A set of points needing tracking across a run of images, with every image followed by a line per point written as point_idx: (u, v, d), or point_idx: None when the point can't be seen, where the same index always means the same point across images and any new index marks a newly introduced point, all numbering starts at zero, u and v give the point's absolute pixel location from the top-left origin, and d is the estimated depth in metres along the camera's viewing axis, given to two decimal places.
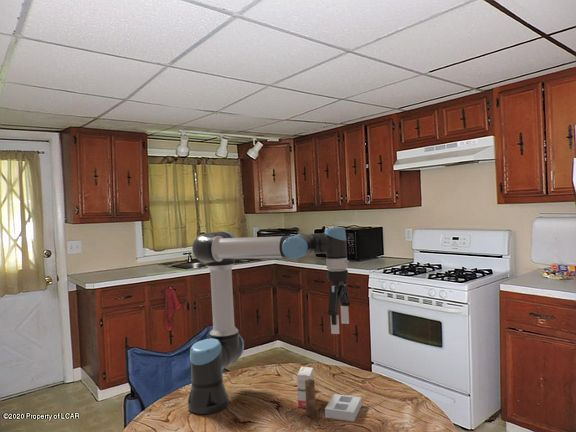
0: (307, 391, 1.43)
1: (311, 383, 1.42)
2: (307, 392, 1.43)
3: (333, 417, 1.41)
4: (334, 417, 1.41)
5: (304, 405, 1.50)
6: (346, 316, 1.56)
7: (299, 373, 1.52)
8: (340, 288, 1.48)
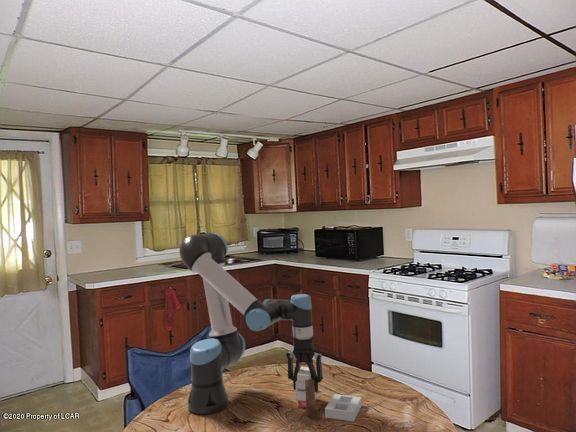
0: (307, 391, 1.43)
1: (311, 383, 1.42)
2: (307, 392, 1.43)
3: (333, 417, 1.41)
4: (334, 417, 1.41)
5: (304, 405, 1.50)
6: None
7: (299, 373, 1.52)
8: None
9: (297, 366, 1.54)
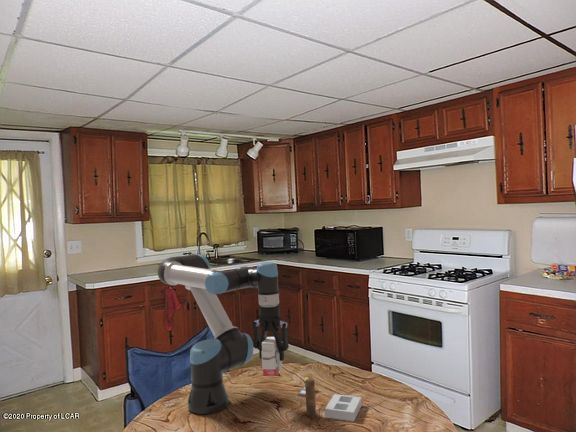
0: (307, 391, 1.43)
1: (311, 383, 1.42)
2: (307, 392, 1.43)
3: (333, 417, 1.41)
4: (334, 417, 1.41)
5: (269, 374, 1.47)
6: None
7: (264, 342, 1.49)
8: None
9: (263, 335, 1.51)
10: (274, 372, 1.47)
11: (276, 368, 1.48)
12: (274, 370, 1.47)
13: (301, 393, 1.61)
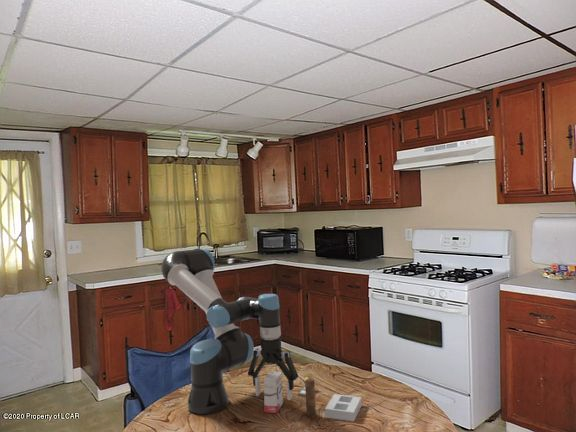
0: (307, 391, 1.43)
1: (311, 383, 1.42)
2: (307, 392, 1.43)
3: (333, 417, 1.41)
4: (334, 417, 1.41)
5: (270, 410, 1.47)
6: None
7: (266, 377, 1.49)
8: (265, 355, 1.51)
9: (261, 365, 1.52)
10: (275, 409, 1.47)
11: (277, 405, 1.48)
12: (275, 407, 1.47)
13: (301, 393, 1.61)
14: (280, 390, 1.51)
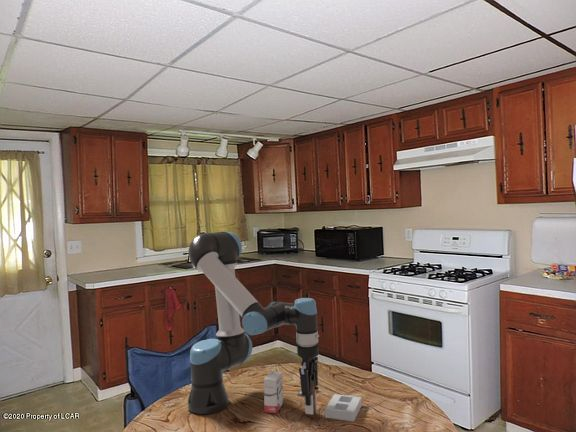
0: None
1: (311, 383, 1.42)
2: None
3: (333, 417, 1.41)
4: (334, 417, 1.41)
5: (270, 410, 1.47)
6: None
7: (266, 377, 1.49)
8: (310, 365, 1.42)
9: (310, 377, 1.42)
10: (275, 409, 1.47)
11: (277, 405, 1.48)
12: (275, 407, 1.47)
13: (301, 393, 1.61)
14: (280, 390, 1.51)
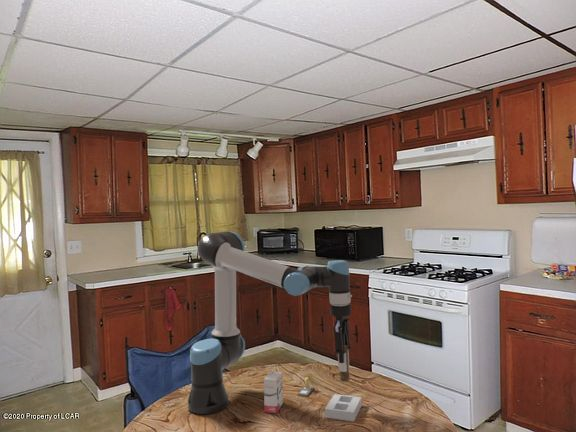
0: None
1: (345, 348, 1.47)
2: None
3: (333, 417, 1.41)
4: (334, 417, 1.41)
5: (270, 410, 1.47)
6: None
7: (266, 378, 1.49)
8: (343, 324, 1.46)
9: (344, 336, 1.46)
10: (275, 409, 1.47)
11: (277, 405, 1.48)
12: (275, 407, 1.47)
13: (301, 393, 1.61)
14: (280, 390, 1.51)
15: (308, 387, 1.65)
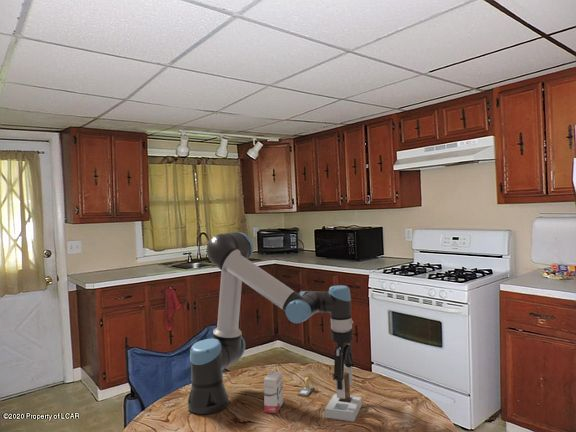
0: None
1: (346, 376, 1.47)
2: None
3: (333, 417, 1.41)
4: (334, 417, 1.41)
5: (270, 410, 1.47)
6: (350, 378, 1.53)
7: (266, 377, 1.49)
8: (345, 349, 1.46)
9: (344, 362, 1.45)
10: (275, 409, 1.47)
11: (277, 405, 1.48)
12: (275, 407, 1.47)
13: (301, 393, 1.61)
14: (280, 390, 1.51)
15: (308, 387, 1.65)
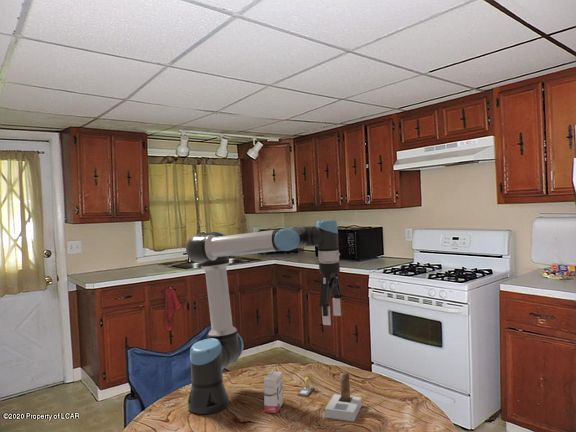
0: (342, 384, 1.47)
1: (346, 376, 1.47)
2: (342, 385, 1.47)
3: (333, 417, 1.41)
4: (334, 417, 1.41)
5: (270, 410, 1.47)
6: (338, 308, 1.57)
7: (266, 377, 1.49)
8: (332, 280, 1.49)
9: (330, 291, 1.48)
10: (275, 409, 1.47)
11: (277, 405, 1.48)
12: (275, 407, 1.47)
13: (301, 393, 1.61)
14: (280, 390, 1.51)
15: (308, 387, 1.65)
